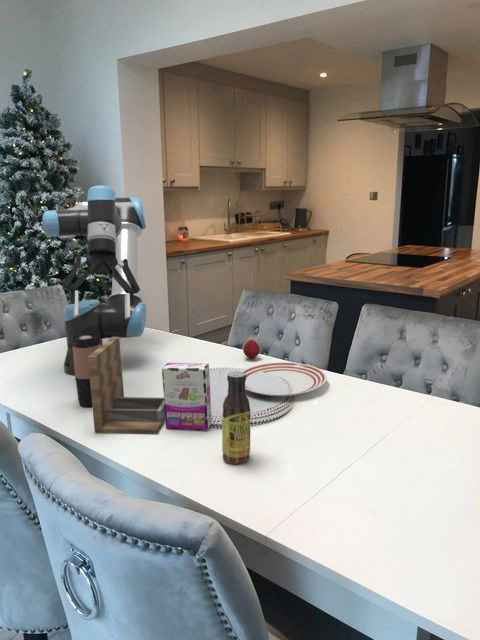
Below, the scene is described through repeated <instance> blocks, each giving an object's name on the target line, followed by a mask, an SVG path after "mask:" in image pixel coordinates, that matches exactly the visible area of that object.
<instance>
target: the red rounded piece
mask: <svg viewBox="0 0 480 640" xmlns="http://www.w3.org/2000/svg"><path fill="white" fill-rule="evenodd" d="M260 351H261V347H260V346H259V344H258V343H257V341H255V340H254V339H253V338H252V337H250V338H249V340H248V341H246V343H244V345H243V349H242V353H243V354H244V355H245V357H247V358H248V359H249V360H251V361H253V360H254V359H256V358H257V357H258V356H259V354H260Z"/></svg>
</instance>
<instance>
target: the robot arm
mask: <svg viewBox="0 0 480 640" xmlns="http://www.w3.org/2000/svg"><path fill="white" fill-rule="evenodd" d="M146 228H147V227H146V218H145V213H144V207H143V203H142V200H141V198H139V197H136V196H135V197H131V196H127V197H116V193H115V190H114V189H113V188H111V187H110V186H106V185H94V186H91V187H90V188H89V189H88V190H87V198H86V200H85V201H82V202H81V201H80V202H78V203H76V204H75V205H74V206H73V207H70V208H65V209H62V210H61V209H60V210H56V209H53V210H47V211H44V213H43V215H42V229H43V232H44V233H45V235H46V236H48V237H57V238H59V237H70V236H71V237H74V236H81V237H82V236H87V237H86V238H87V256H86V257H85V256H82V255H81V254H77V255H76V257H75V259H74V264H73V265H74V266H73V267H72V269H71V270H70V272H69V274H68V276H67V278H66V279H65V281H64V283H63V285H62V287H61V289H62V290H64V291H67V292H68V293H69V304H68V305H67V306H65V308H64V310H63V313H64V314H63V316H64V317H63V318H64V319H63V322H64V329H65V337H66V338H65V339H66V346H67V349H66V355H65V359H64V364H63V368H64V373H66V374H67V375H72V376H75V369H74V359H73V348H72V336H74V335H76V334H77V335H84V334H85V333H98V334H99V338H100V346H102V345H103V344H104V342H103V341H104V340H103V339H110V338H111V337H119V339H124V338H125V339H126V338H127V339H130V338H138V337H141V336H142V335H143V333H144V332H145V329H146V321H147V304H146V303H145V302H142V301H143V300H142V298H141V296H139V295H138V293H139V292H140V291H141V289H140V286H139V284H138V238H139V237H140V236H141V235H142V232H143V231H144V230H145V229H146ZM84 263H86V265H87V266H88V268H87V270H86V271H84V273H83V274H82V275H81V276H79V278H78V279H76V281H75V282H74V283H73V284H72V285H70V284H71V282H72V280H73V279H74V276H75V275H76V273H77V271H78V270H79V269H80V268H79V267H80V266H82V265H83V264H84ZM92 273H93V274H95V275H96V276H97V275H102V276H108V275H109V276H111V278H112V280H111V283H112V285H111V294H110V295H108V297H107V300H106V301H107V302H106V303H104V304H101V303H100V301H99V300H98V299H86V300H81V301H79V290H77V289H78V288H79V287H80V286H81V284H83V283H84V281H86V279H87V278H89V276H90V275H92Z"/></svg>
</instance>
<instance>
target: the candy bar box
mask: <svg viewBox="0 0 480 640" xmlns="http://www.w3.org/2000/svg"><path fill="white" fill-rule="evenodd" d="M161 376H162V387H163V388H162V389H163V398H164V406H165V421H164V422H165V429H166V430H182V431H183V430H184V431H200V432H201V431H207V432H208V431H209V429H210V427H211V425H212V424H211V422H212V421H213V420H212V419H213V417H212V416H213V415H212V403H211V402H212V399H211V398H212V396H211V381H210V380H211V379H210V377H211V376H210V363H199V362H198V363H197V362H192V363H191V362H166V363H165V365H164V366H163V367H162V368H161ZM212 423H213V422H212Z"/></svg>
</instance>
